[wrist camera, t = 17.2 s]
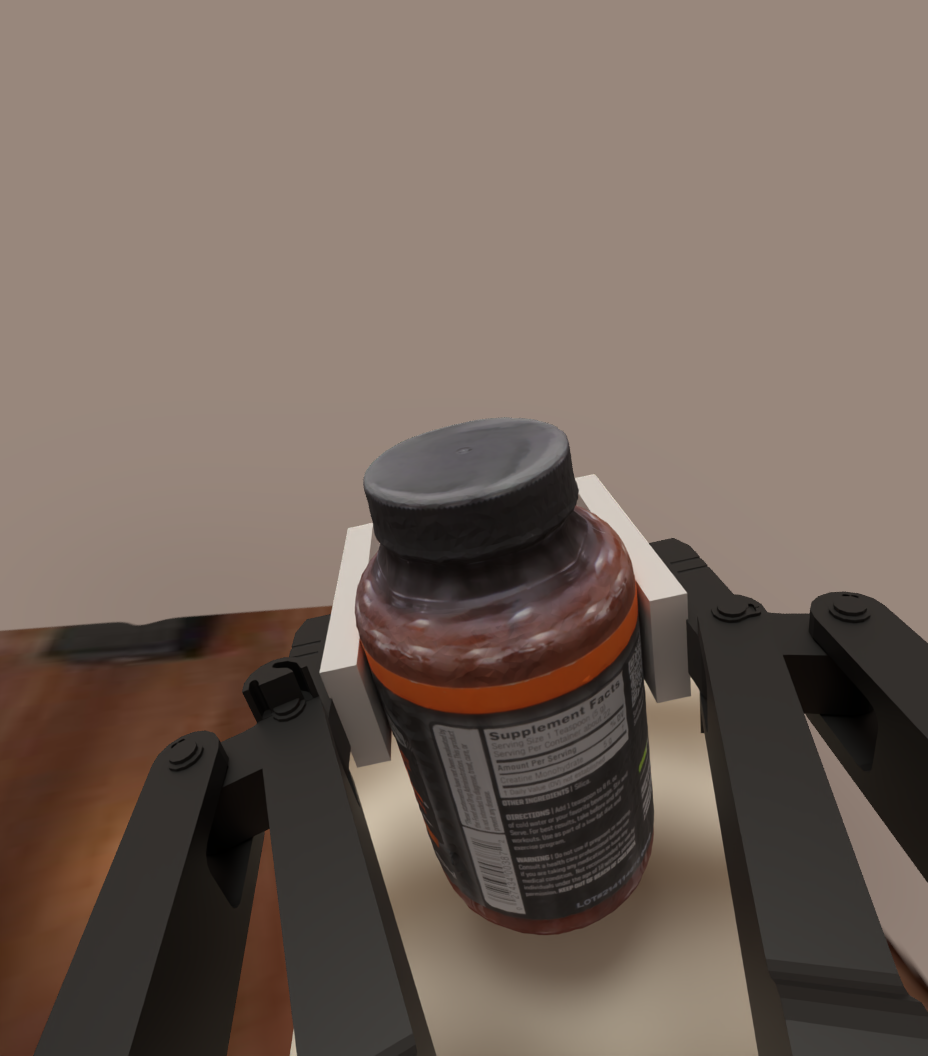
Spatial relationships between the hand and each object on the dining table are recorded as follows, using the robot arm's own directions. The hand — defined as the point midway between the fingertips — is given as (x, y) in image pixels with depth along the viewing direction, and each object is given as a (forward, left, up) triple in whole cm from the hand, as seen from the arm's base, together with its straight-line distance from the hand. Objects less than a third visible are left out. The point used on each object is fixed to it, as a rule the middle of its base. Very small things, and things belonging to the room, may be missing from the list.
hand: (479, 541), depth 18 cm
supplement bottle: (-5, -2, -7) cm, 8 cm away
